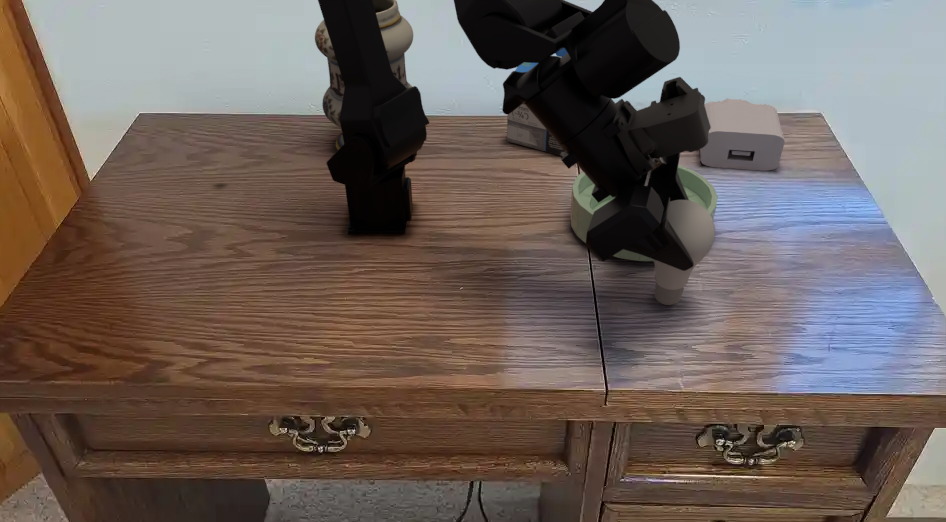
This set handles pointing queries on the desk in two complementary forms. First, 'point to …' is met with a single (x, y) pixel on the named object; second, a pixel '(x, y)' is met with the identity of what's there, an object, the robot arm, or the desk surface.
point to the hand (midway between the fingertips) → (692, 248)
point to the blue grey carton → (531, 123)
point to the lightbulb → (697, 239)
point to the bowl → (587, 204)
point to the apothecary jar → (396, 44)
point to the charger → (742, 136)
